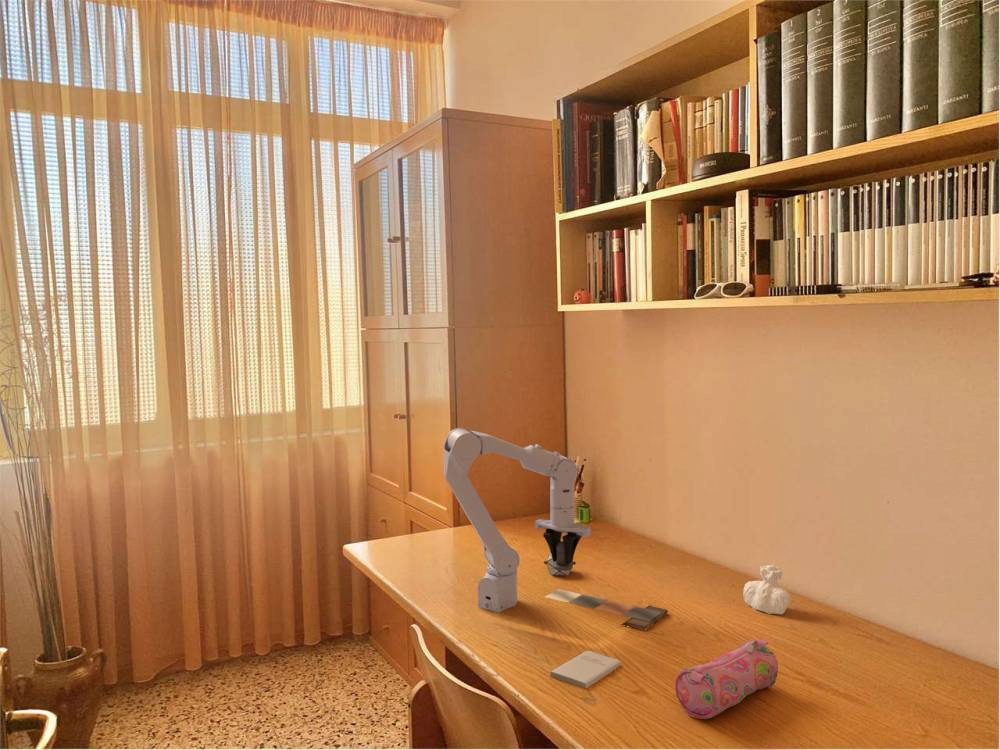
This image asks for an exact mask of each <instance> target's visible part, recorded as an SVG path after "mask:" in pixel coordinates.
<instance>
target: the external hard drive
mask: <svg viewBox="0 0 1000 750" xmlns="http://www.w3.org/2000/svg"><path fill="white" fill-rule="evenodd" d="M620 665H621V666H622V661H621V660H619V659H617V658H613V657H610V656H607V655H604V654H600V653H597V652H594V651H591V650H585V651H583V652H582V653H581V654H579V655H577V656H575V657H574V658H572V659H570V660H568V661H566V662H565V663H564V664H561V665H559V666H557V667H556V668H555V669H553V670H551V671H550V672H549V676H550V677H551V678H554V679H555V680H559V681H562V682H564V683H568V684H571V685H574V686H576V687H579V688H582V689H585V690H586V689H588V688H589V687H590V686H593V685H594V684H596V683H597V682H599V681H600V680H602V679H603V678H604V677H606V676H608V675H609V674H610V673H612V672H613V670H614V671H616V670H617V669H618V668H620V667H621V666H620ZM619 666H620V667H619ZM617 667H618V668H617ZM616 668H617V669H616Z"/></svg>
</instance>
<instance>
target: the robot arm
mask: <svg viewBox="0 0 1000 750" xmlns="http://www.w3.org/2000/svg"><path fill="white" fill-rule="evenodd" d="M491 453H494V454H497V455H499V456H504V457H506V458H510V459H513V460H517V461H519V463H520V464H521V467H522V468H523V469H525V470H528V471H531V472H534V473H537V474H540V475H542V476H546V477H550V478H549V479H550V480H549V481H550V482H549V483H550V488H549V489H550V491H549V495H550V497H549V499H550V501H549V502H550V504H549V505H550V506H549V507H550V508H549V511H550V512H549V513H550V515H549V516H550V519H540V518H539V519H537V520H535V521H534V529H538V530H545V532H542V533H543V534H542V535H543V539H544V540H545V542H546V543H547V545H548V548H549V552H550V551H551V555H552V559H553V561H556V545H557V543H559V542H560V541H563V542H564V547H565V562H566V564H570V563H572V562H574V556H575V552H576V549H577V547H578V544H579V542H580V540H581V539H582V537H584V538H589V537H590V536H591V534H592V533H591V532H592V529H591V527H588V526H585V525H581V524H579V523H576V522H575V480H576V478H577V477H578V474H579V469H577V465H576V462H575V461H573V460H572V459H571V458H568V457H566V456H563V455H562V454H560V453H559V452H557V451H554V452H553V451H549V450H546V449H543V446H542V445H540V444H537V443H535V445H532V444H531V445H528V446H524V447H521V446H519V445H516V444H513V443H511V442H509V441H506V440H504V439H500V438H499V437H498V438H497V437H496V436H493V435H491V434H488V433H484V432H480V431H475V430H470V432H469V430H467V429H465V428H463V427H457V428H456V427H455V428H454V429H452V430H451V431H449V433H448V434H447V437H446V438H445V440H444V443H443V473H442V474H443V477H444V479H445V481H446V483H447V484H448V487H450V490H451V491H452V493H453V495H454V496H455V498H456V500H457V501H458V503H459V505H460V507H461V508H462V510H463V512H464V513H465V516H466V517H467V518H468V520H469V522H470V523H471V526H472V527H473V528H474V530H475V532H476V534H477V535H478V537H479V539H480V540H479V541H480V542H481V544H482V546H483V554H484V555H483V556H484V558H485V559H486V560H487V561H488V564H487V566H486V573H485V575H484V576H483V577H482V578H481V579H480V580H479V582H478V585H477V597H478V599H477V601H478V602H477V604H478V607H477V608H480V609H483V610H486V611H491V612H495V613H501V612H503V611H504V610H507V609H509V608H512V607H515V606H517V605H518V567H519V566H520V556H519V552H517V550H516V549H514V548H512V547H511V546H510V545H509V543H508V542H507V540H506V539H505V538H504V536H503V535H502V533H501V532H500V531H499V529H498V527H497V526H496V523H495V522H494V520H493V519H492V517H491V515H490V513H489V511H488V510H487V508H486V506H485V505H484V503H483V502H482V499H481V498H480V496H479V494H478V493H477V490H476V489H475V487H474V486H473V483H472V482H471V480H470V479H469V477H468V474H469V471H470V469H471V468H470V467H471V465H472V464H473V463H474V462H475V460H476V458H478V456H479V455H481V456H485V455H487V454H491ZM564 533H565V535H562V534H564Z"/></svg>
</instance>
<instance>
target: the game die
mask: <svg viewBox="0 0 1000 750" xmlns="http://www.w3.org/2000/svg"><path fill="white" fill-rule="evenodd" d="M554 562H556V561H553V559H552V555H551V551H550V550H549V553H548V557H547V559H546V560H544V561H543V564H544V565H546V566H547V569H548V572H549V574H550V576H553V577H554V576H561V577H562V576H563V577H564V576H570V574H571V571H572V569H571V570H565V571H561V570H555V569H554V568H553V563H554ZM572 564H573V566H574V565H576V564H577V562H576V561H574V560H573V562H572Z"/></svg>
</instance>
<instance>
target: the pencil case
mask: <svg viewBox="0 0 1000 750" xmlns="http://www.w3.org/2000/svg"><path fill="white" fill-rule="evenodd" d="M768 644H769V642H768V641H766V640H764V639H763V640H762V639H760V638H756V639H754V640H747V641H745V642H743V643H742V644H741V645H740V646H739V647H738V648H736V649H734V650H732V651H730V652H727V653H725V654H723V655H721V656H719V657H717V658H715V659H712V660H710V661H708V662H706V663H705V664H703V665H702V664H701V665H694V666H692V667H687V668H684V669H682V670H681V671H680V672H679V673H678V674H677V676H676V679H675V684H674V686H675V694H676V697H677V700H678V703H679V704H680V707H681V708H682V709H683V711H684V712H685V713H686V714H687V715H688V716H689V717H692V718H694V719H700V720H708V719H712V718H714V717H716V716H718V715H721V713H723V712H724V711H725V710H728V709H729V708H731V707H733V706H735V705H738V704H740V702H742V701H743V700H744V699H745V698H746V697H747V696H749V695H752V694H753V693H755V692H756V691H760V690H763V689H765V688H766V687H768V688H771V687H773V686H774V685H775V684H776V681H777V678H778V671H779V663H778V659H777V657H776V655H775V654H774V652H773V651H772V650H771V649H770V648H768V647H767V646H766V645H768ZM766 689H767V688H766Z"/></svg>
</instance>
